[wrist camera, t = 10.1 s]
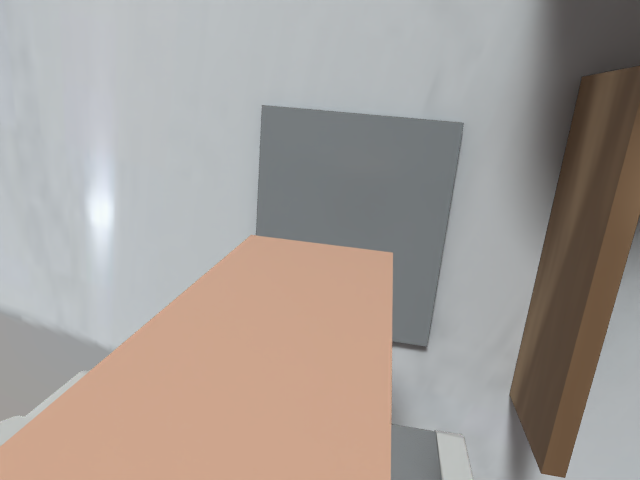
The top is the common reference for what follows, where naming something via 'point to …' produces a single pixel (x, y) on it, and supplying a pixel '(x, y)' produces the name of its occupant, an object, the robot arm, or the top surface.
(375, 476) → the terracotta block
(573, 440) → the walnut bay
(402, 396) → the top surface
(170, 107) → the top surface
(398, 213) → the slate coaster
